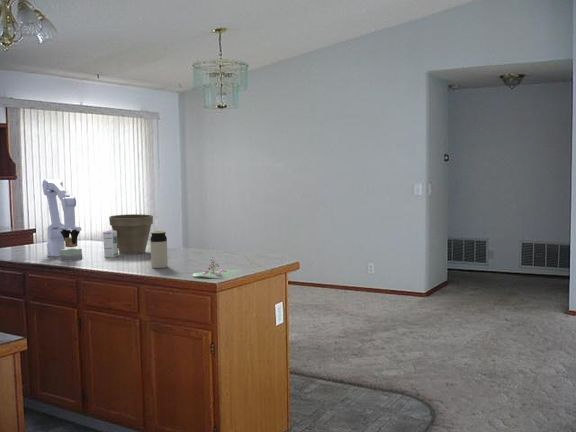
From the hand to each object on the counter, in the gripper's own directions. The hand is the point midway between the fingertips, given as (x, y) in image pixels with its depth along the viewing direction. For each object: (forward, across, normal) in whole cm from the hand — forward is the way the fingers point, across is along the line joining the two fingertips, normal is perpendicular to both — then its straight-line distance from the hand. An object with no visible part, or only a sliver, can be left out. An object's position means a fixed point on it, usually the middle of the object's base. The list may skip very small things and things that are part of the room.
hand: (70, 243), depth 347 cm
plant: (+10, -102, +11) cm, 103 cm away
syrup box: (+9, -14, -16) cm, 23 cm away
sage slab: (+6, 0, 0) cm, 6 cm away
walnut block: (+2, 0, 0) cm, 2 cm away
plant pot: (+9, -16, -32) cm, 37 cm away
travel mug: (+9, -64, +5) cm, 65 cm away
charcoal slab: (+9, 0, 0) cm, 9 cm away
